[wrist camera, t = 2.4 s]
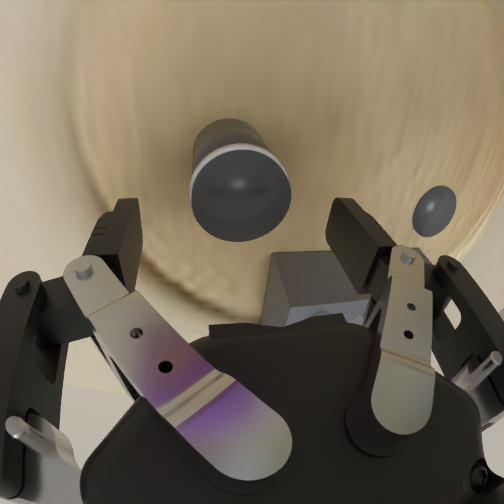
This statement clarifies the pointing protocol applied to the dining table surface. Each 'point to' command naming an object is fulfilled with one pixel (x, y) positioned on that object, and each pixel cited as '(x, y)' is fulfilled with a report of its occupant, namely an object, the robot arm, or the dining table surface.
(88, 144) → the dining table surface
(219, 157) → the lens
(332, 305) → the camera body
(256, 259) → the dining table surface
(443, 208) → the grey dome
